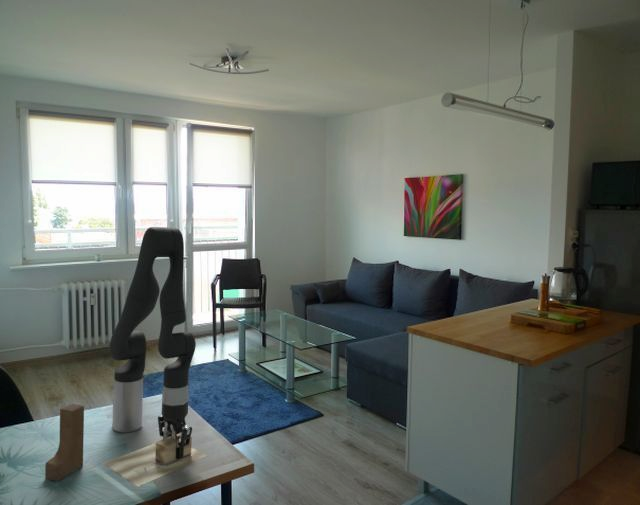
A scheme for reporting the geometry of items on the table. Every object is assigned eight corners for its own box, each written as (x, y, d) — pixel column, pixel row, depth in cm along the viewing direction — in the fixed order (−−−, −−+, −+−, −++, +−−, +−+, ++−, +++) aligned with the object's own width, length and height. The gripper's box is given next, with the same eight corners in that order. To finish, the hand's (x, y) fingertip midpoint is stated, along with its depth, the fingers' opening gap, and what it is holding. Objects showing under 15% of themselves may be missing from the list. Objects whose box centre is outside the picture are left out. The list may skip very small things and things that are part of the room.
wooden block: (57, 482, 127) (58, 417, 126) (44, 478, 128) (45, 414, 127) (83, 466, 136) (84, 405, 134) (71, 463, 137) (72, 403, 136)
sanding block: (155, 460, 138) (155, 441, 138) (180, 449, 145) (181, 431, 145) (165, 466, 135) (166, 447, 135) (191, 454, 142) (191, 437, 142)
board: (103, 467, 136) (103, 463, 136) (171, 440, 154) (171, 436, 154) (137, 491, 125) (137, 486, 125) (206, 459, 143) (207, 455, 143)
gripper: (150, 396, 141) (148, 451, 142) (179, 409, 132) (177, 468, 133) (171, 390, 147) (169, 442, 148) (201, 402, 138) (199, 458, 139)
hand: (173, 454), depth 140 cm, fingers closed on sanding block, 5 cm apart
